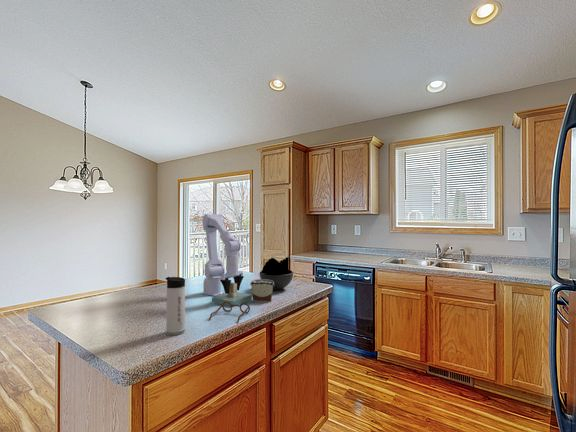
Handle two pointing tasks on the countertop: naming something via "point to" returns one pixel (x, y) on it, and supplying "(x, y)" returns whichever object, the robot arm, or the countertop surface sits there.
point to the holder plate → (232, 299)
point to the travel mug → (175, 306)
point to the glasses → (231, 309)
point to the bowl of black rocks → (277, 273)
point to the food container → (262, 290)
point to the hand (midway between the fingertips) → (232, 291)
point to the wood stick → (233, 290)
